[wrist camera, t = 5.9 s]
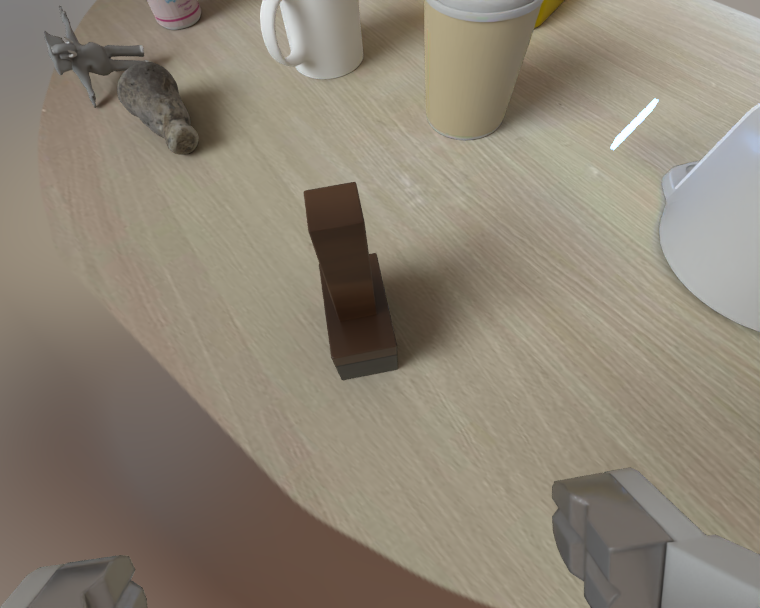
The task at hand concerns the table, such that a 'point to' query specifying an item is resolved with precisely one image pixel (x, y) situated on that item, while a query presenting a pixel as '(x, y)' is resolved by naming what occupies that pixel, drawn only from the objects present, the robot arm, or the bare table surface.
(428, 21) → the coffee cup
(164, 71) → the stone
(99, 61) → the elephant figurine
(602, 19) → the table surface
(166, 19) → the beverage can
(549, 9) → the element tile
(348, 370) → the brush
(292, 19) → the mug
